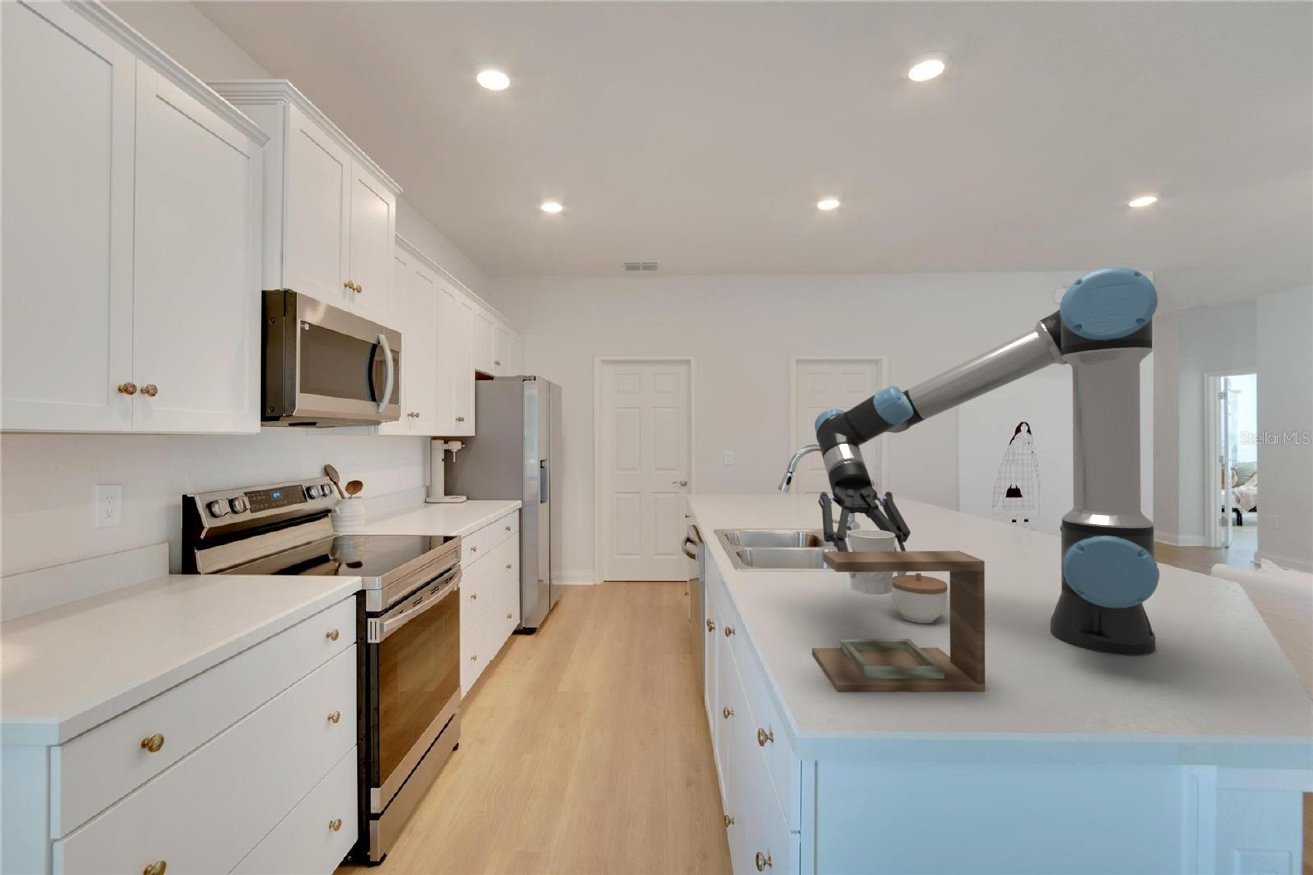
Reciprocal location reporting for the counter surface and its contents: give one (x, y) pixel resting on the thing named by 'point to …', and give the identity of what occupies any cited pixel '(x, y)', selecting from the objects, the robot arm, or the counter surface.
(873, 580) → the white cup
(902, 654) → the shelf unit
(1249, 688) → the counter surface
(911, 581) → the lidded jar
